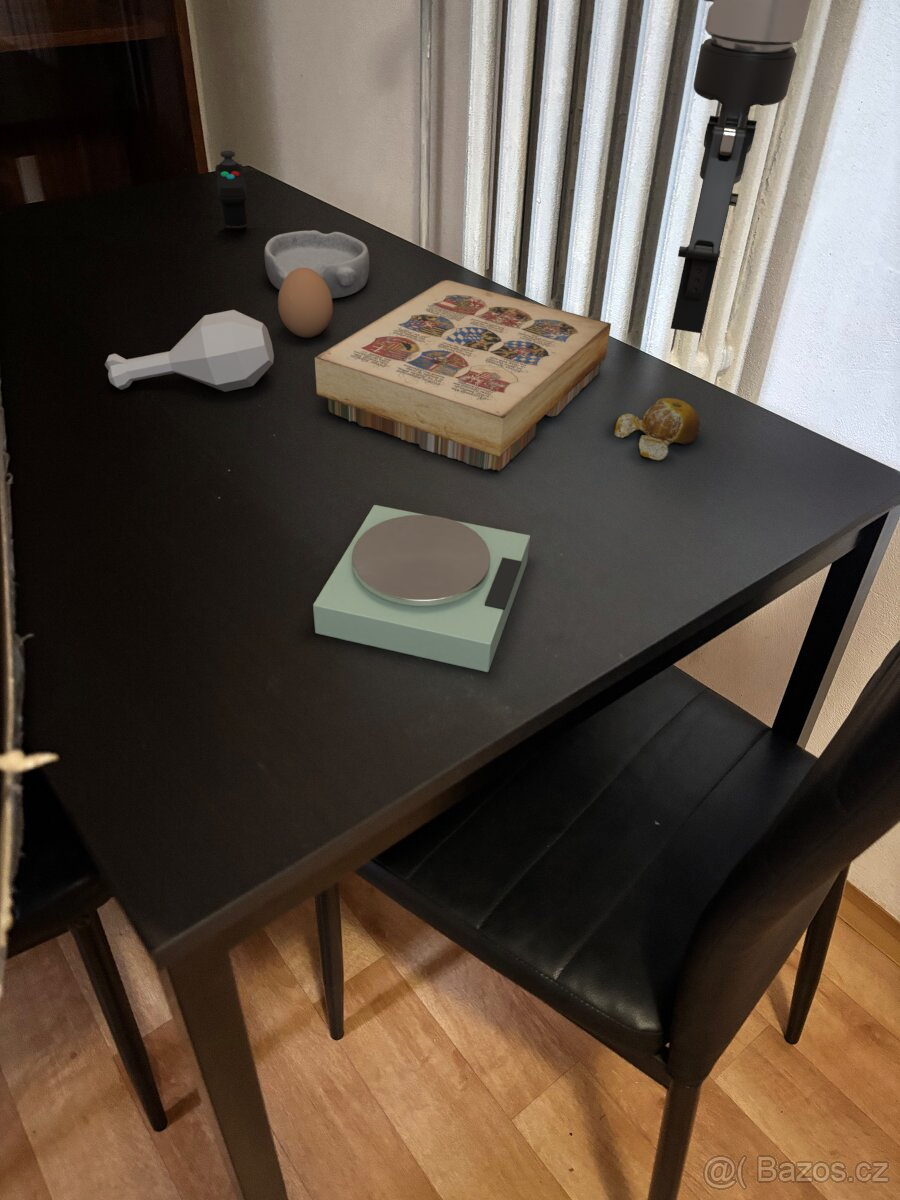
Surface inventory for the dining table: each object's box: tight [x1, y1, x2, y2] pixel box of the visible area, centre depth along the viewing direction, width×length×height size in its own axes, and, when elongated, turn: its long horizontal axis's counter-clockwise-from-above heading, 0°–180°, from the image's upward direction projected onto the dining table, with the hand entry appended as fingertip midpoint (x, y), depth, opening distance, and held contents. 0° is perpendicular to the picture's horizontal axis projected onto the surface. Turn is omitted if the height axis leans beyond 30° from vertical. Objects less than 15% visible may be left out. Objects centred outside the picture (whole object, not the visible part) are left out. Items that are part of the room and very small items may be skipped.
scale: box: [312, 504, 531, 673], centre depth 74 cm, size 14×14×3 cm
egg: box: [277, 268, 334, 339], centre depth 108 cm, size 6×6×8 cm
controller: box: [214, 150, 248, 231], centre depth 134 cm, size 4×12×10 cm, turn 12°
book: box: [314, 278, 612, 472], centre depth 101 cm, size 25×6×28 cm
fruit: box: [613, 397, 701, 461], centre depth 94 cm, size 8×8×4 cm
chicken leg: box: [104, 309, 275, 393], centre depth 98 cm, size 8×18×8 cm, turn 95°
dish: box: [264, 229, 370, 299], centre depth 122 cm, size 14×14×5 cm
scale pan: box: [352, 514, 490, 606], centre depth 72 cm, size 11×11×1 cm
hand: (693, 300), depth 86 cm, fingers open, 13 cm apart
